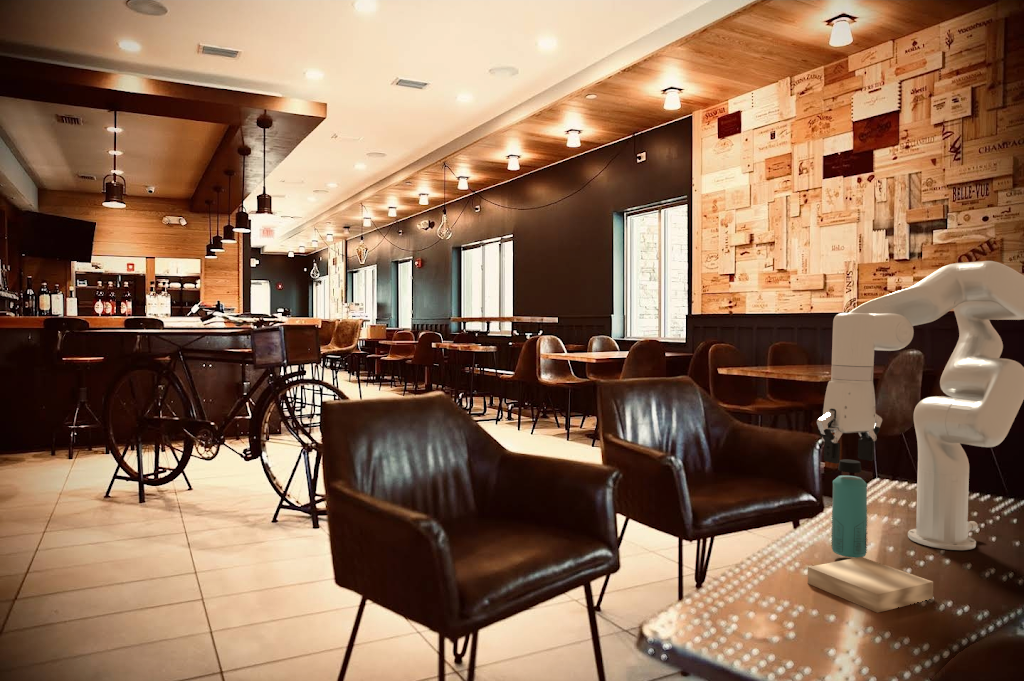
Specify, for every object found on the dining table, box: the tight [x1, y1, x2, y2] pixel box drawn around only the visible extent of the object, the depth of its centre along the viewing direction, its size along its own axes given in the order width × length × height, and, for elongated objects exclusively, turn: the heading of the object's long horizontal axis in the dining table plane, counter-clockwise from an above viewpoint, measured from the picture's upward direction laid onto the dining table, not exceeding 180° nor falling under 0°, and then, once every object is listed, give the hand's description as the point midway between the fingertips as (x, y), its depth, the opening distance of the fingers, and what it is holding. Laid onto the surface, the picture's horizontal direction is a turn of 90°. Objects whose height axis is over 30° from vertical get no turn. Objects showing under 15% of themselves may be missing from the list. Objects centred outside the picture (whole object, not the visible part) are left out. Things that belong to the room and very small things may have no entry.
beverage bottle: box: [830, 459, 869, 558], centre depth 139 cm, size 6×7×20 cm
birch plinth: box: [807, 556, 934, 613], centre depth 123 cm, size 14×14×3 cm
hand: (848, 461), depth 139 cm, fingers open, 9 cm apart
